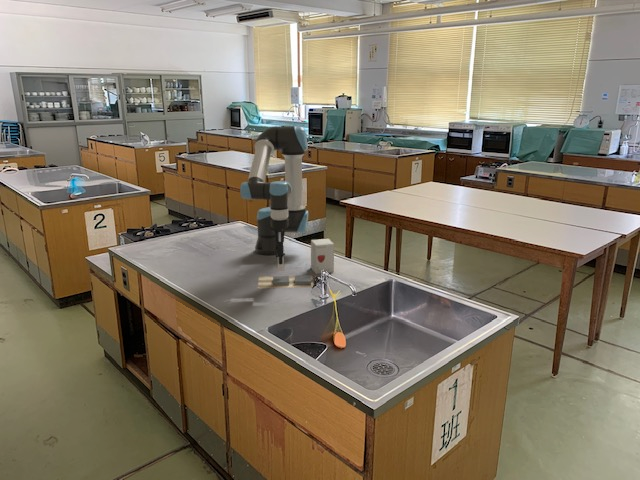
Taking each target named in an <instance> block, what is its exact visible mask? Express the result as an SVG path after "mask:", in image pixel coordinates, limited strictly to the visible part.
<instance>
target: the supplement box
mask: <svg viewBox="0 0 640 480" xmlns="http://www.w3.org/2000/svg"><path fill="white" fill-rule="evenodd" d="M310 268H311V270H312V272H313V273H314V274H322V273H321V270H323V269H324V270H326V271H327V272H328V273H334V272H335V271H334V270H335V269H334V268H335V243H334V242H333V241H331V239H330V238H323V239H322V238H321V239H319V238H318V239H311V240H310Z"/></svg>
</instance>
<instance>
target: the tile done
mask: <svg viewBox="0 0 640 480" xmlns="http://www.w3.org/2000/svg"><path fill="white" fill-rule="evenodd" d="M311 275H312V274H311ZM311 275H310V274H307V275H305V274H303V276H301V275H294V276H295V285H306V284H311Z"/></svg>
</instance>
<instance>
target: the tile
mask: <svg viewBox="0 0 640 480" xmlns="http://www.w3.org/2000/svg"><path fill="white" fill-rule="evenodd" d="M289 276H290V275H273V286H274V285H289Z"/></svg>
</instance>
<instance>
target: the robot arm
mask: <svg viewBox="0 0 640 480" xmlns="http://www.w3.org/2000/svg"><path fill="white" fill-rule="evenodd" d="M308 146H309V145H308V137H307V132H306V129H305V128H304V127H303V126H296V125H292V126H291V125H289V126H287V125H285V126H276V125H275V126H271V127H268V128H266V129H265V130H264V131H262V132H261V133H260V134H259V136H258V137H257V138H256V140H255V142H254V147H253V148H254V150H255V151H254V154H253V159H252V163H251V165H250V166H251V167H250V171H249V174H248V179H247V181H244V182H241V184H240V191H239V193H240V196H241V199H244V200H251V201H252V200H267V201H268V200H269V204H270V205H269V206H268V207H267V206H266V207H263V208H260V209H259V210H257V213H256V222H257V223H256V224H257V240H256V243H255V246H254V250H255V251H254V252H255V253H256V254H258V255H262V256H263V255H264V256H273V255H274V256H275V258H277V271H279V272H281V271H285V259H284V258H285V257H284V256H285V255H286V253H284V251H285V250H284V242H285V234H286V233H291V234H292V233H296V234H299V233H300V234H301V233H305V232H306V230H307V228H308V227H307V226H308V221H309V210H306V208H307V207H306V206H305V204H303V161H302V160H303V159H302V158H303V157H304V155H305V154H306V153H305V152H306V151H308V149H309V148H308ZM274 151H281V153H280V154H281V156H282V157H284V179H285V180H284V181H283V180H277V181H276V180H275V181H271V182H266V178H267V174H268V173H267V172H268V167H269V164H270V161H271V155H272V154H273V153H274Z"/></svg>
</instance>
